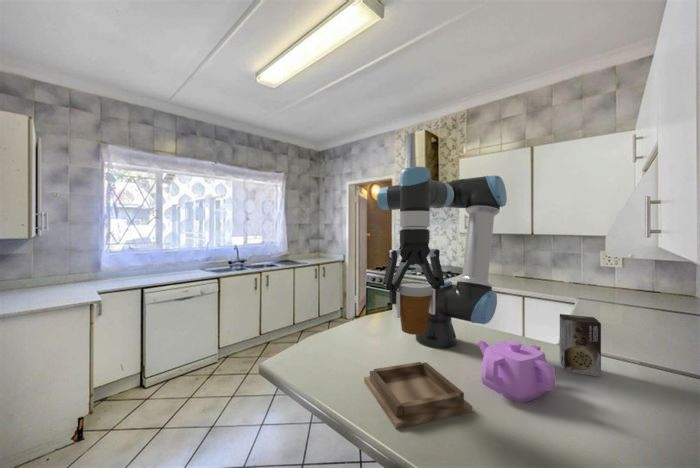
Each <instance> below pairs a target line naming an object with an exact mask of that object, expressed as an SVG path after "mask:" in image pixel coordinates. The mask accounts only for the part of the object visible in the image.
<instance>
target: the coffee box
mask: <svg viewBox="0 0 700 468" xmlns="http://www.w3.org/2000/svg"><path fill="white" fill-rule="evenodd" d="M558 362H559V365H560V366H561V368H562V369H563V372H568V373H575V374H582V375H586V376H594V377H599V378H601V377H602V322H600V321H599V320H598V319H597V318H596V317H594V316H585V315H576V314H575V315H574V314H562V313H559V361H558Z"/></svg>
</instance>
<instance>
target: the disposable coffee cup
mask: <svg viewBox="0 0 700 468" xmlns="http://www.w3.org/2000/svg"><path fill="white" fill-rule="evenodd" d="M424 282H425V281H413V280H412V281H401V283H400V285H399V287H398V290H397V291H399V292H400V325H401V326H400V327H401V331H402V332H403V333H405V334H408V335H415V336H416V335H420V334H424V333H426V330H427V323H428V316H429V308H430V300H431V294H432V292H433V289H432V286H431V285H430V284H428V283H424Z"/></svg>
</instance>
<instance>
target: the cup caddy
mask: <svg viewBox="0 0 700 468" xmlns="http://www.w3.org/2000/svg"><path fill="white" fill-rule="evenodd" d="M363 378H364V379H363V382H364V384H365V385H366V386H367V388H368V390H369V391H370V392H371V394H372V395H373V397H374V399H375V400H376V402H377V403H378V404H379V406H380V407H381V408H382V409H381V410H383V411H384V413H385V415H386V416H387V418H388V419H389V421H390V422H391V424H392V425H393V426H394V429H396V430H397V429H401V428H406V427H411V426H414V425H415V426H416V425H420V424H424V423H428V422H432V421H437V420H442V419H446V418H450V417H455V416H458V415H462V414H467V413H472V412H473V406H472V405H471V404H470V403H469V402H467V401H466V400H465V392H464V391H462V390H461V389H460V388H458V387H457V386H456V385H455V384H454V383H453V382H451V381H450V380H449V379H447V377H445V376H444V375H443V374H441V373H440V372H439V371H438V370H436V369H435V368H434V367H432V366H431V365H430V364H429V362H421V361H417V362H411V363H404V364H399V365H398V364H397V365H390V366H385V367H378V368H374V369H373V370H370V371H369V376H364V377H363Z"/></svg>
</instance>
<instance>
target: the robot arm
mask: <svg viewBox="0 0 700 468" xmlns="http://www.w3.org/2000/svg"><path fill="white" fill-rule="evenodd" d="M507 201H508V200H507V190H506V185H505V182H504V180H503V178H502V177H501V176H499V175H486V176H477V177H470V178H469V177H468V178H461V179H454V180H450V181H447V182H443V181H441V180H434V179H431V172H430V169H429V168H428V167H426V166H409V167H405V168H403V169H402V170H401V171H400V177H399V184H397V185H387V186H383V187H381V188H379V190H378V191H377V193H376V202H377V203H376V204H377V205H378V207H379V208H380V209H381V210H384V211H396V210H399V227H401V229H400V230H399V248H398V249H389V250H388V252H387V253H388V261H387V264H386V268H385V273H384V276H383V277H384V278H383V282H382V288H383V289H386V290H387V291H389V303H390V304H391V305H392V309H391V310H392V313H391V314H392V316H393V317H395V318H396V319H399V318H400V292H399V291H397V290H398V287H399V285H400V283H401V282H403V279H404V277H405V275H406V273H407V271H408V269H409V268H410V267H411V266H414V265H419V266H420V268H421V271H422V272H423V275H424V276H425V279H426V281H423V282H424V283H428V284H430V285H431V286H432V289H433V292H432V294H431V300H430V308H429V316H428V323H427V330H426V333H424V334H420V335H415V340H416V341H417V343H419V344H421V345H424V346H426V347H430V348H437V349H447V348H451V347H454V346H455V345H456V344H457V335H456V332H455V329H454V326H453V323H452V318H453V319H456V320H461V321H465V322H470V323H472V324H479V325H480V324H481V325H486V324H489V323H490V322H491V320H492V319H493V317H494V315H495V312H496V310H497V304H498V295H497V293H496V292H495V291H493V290H492V289H493V285H492V284H491V283H490V282H489V273H490V272H489V271H490V264H491V263H490V262H491V254H492V242H493V234H494V233H493V232H494V222H495V217H496V216H497V215H498V214H499V213H500V208H503V207H505V206H506V203H507ZM432 208H433V209H442V208H453V209H454V208H455V209H465V212H466V213H467V214H468V223H467V233H466V238H465V239H466V240H465V247H464V248H465V250H464V259H463V265H462V274H461V277H460V278H459V279H458V280H456V286H455V285H453V283H452V281H451V280H447V279H446V280H445V279H444V273H443V269H442V265H441V260H440V253H441V252H440V250H439V249H437V248H430V247H429V244H430V239H431V237H430V233H431V232H430V230H429V229H428V228H430V227H431V222H430V221H431V220H430V219H431V217H430V216H431V215H430V211H431V210H430V209H432ZM399 256H400V257H401V259H400V261H399V265H398V267H397V263H398V258H399ZM428 256H429V259H430V263H431V264H430V263H429V260H428ZM430 265H431V267H430ZM396 267H397V269H396ZM395 271H396V272H395Z"/></svg>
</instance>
